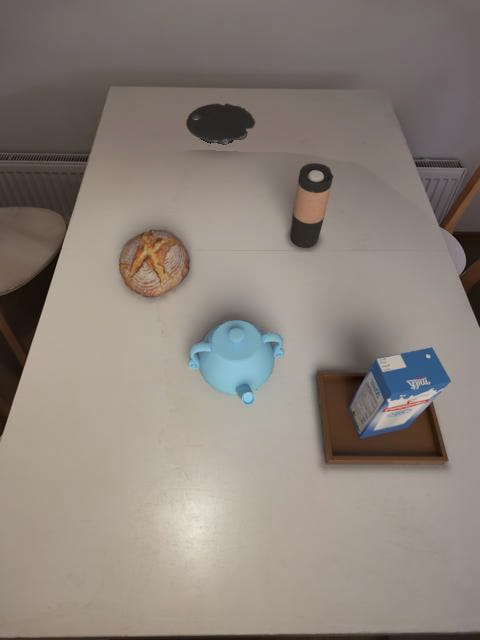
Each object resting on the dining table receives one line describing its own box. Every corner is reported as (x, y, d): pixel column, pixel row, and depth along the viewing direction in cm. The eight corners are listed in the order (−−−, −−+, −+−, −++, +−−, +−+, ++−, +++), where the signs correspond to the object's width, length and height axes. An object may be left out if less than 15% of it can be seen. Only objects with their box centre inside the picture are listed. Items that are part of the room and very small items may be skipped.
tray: (420, 378, 89) (425, 373, 87) (443, 465, 79) (448, 461, 77) (316, 378, 89) (318, 372, 87) (325, 464, 79) (328, 460, 77)
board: (172, 133, 137) (170, 118, 133) (223, 108, 146) (223, 93, 141) (217, 165, 128) (217, 150, 124) (269, 137, 137) (270, 121, 133)
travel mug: (283, 240, 111) (292, 175, 94) (298, 224, 114) (309, 158, 98) (309, 253, 108) (323, 188, 92) (324, 235, 112) (339, 170, 96)
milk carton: (359, 439, 81) (391, 394, 64) (347, 408, 84) (374, 358, 68) (407, 427, 82) (451, 381, 66) (394, 398, 86) (432, 346, 69)
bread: (120, 305, 100) (107, 277, 91) (127, 243, 111) (116, 213, 102) (190, 299, 100) (183, 271, 91) (190, 238, 111) (184, 208, 102)
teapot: (274, 329, 95) (279, 295, 85) (296, 414, 84) (305, 386, 74) (185, 342, 93) (179, 307, 83) (195, 430, 82) (190, 403, 72)
